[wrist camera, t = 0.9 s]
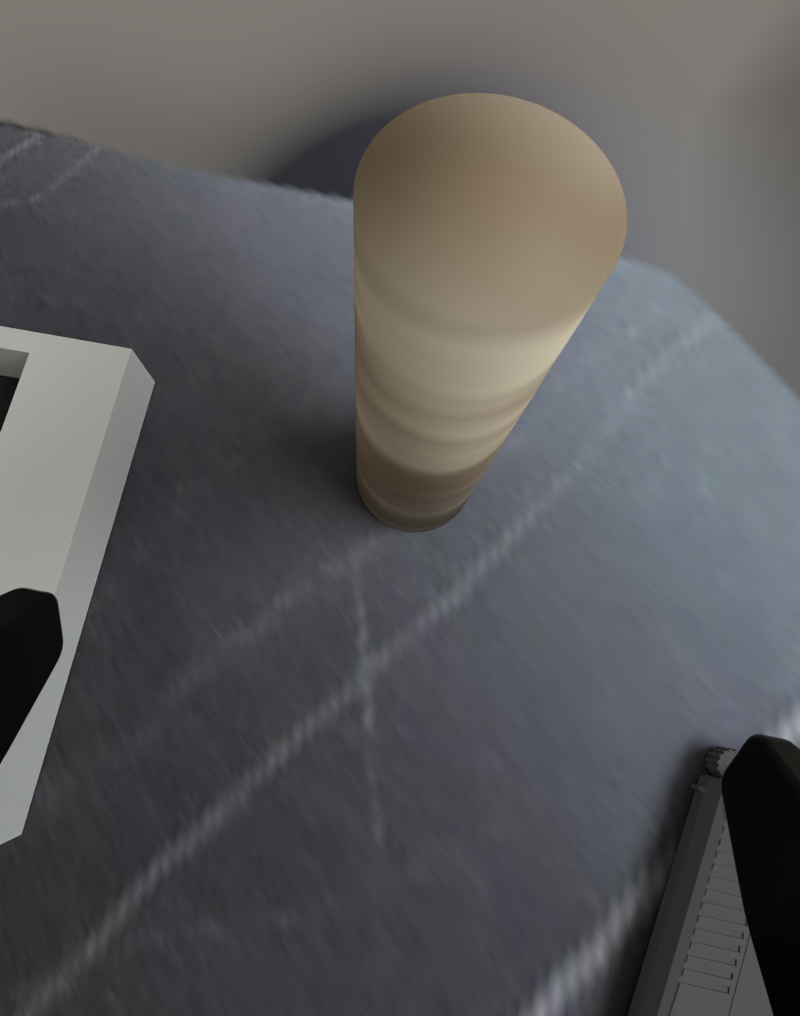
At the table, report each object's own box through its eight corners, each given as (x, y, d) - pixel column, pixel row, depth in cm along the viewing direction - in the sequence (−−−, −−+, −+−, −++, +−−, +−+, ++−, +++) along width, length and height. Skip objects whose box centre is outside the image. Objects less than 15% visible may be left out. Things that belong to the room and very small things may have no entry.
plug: (463, 540, 22) (619, 347, 9) (346, 521, 22) (329, 296, 9) (477, 433, 24) (633, 119, 10) (367, 414, 24) (378, 71, 10)
